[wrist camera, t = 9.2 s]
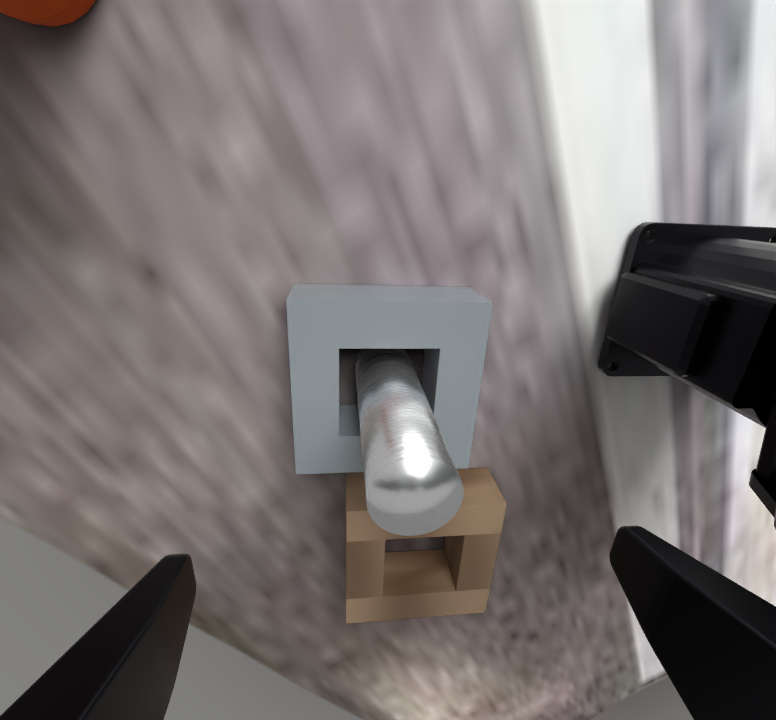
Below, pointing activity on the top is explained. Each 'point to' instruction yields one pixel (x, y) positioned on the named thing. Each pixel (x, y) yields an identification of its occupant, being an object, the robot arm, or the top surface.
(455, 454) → the gray square ring
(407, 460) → the silver metal rod
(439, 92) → the top surface
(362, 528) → the socket block
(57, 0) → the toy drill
